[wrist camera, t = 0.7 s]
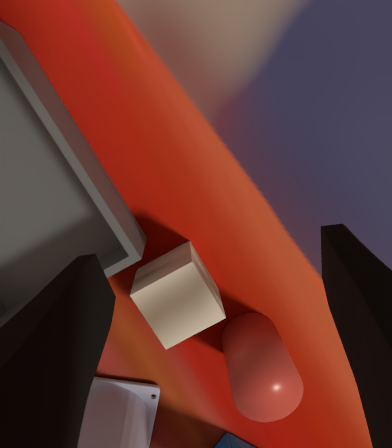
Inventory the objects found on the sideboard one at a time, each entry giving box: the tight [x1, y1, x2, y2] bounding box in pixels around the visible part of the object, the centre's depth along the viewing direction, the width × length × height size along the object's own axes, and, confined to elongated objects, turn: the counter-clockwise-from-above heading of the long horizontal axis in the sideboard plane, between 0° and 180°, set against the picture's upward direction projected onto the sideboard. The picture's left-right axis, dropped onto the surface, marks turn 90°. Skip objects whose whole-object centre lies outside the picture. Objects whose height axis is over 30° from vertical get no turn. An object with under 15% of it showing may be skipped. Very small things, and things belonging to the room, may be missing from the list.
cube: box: [130, 240, 226, 349], centre depth 29 cm, size 5×5×5 cm
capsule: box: [221, 312, 303, 422], centre depth 30 cm, size 5×5×7 cm
